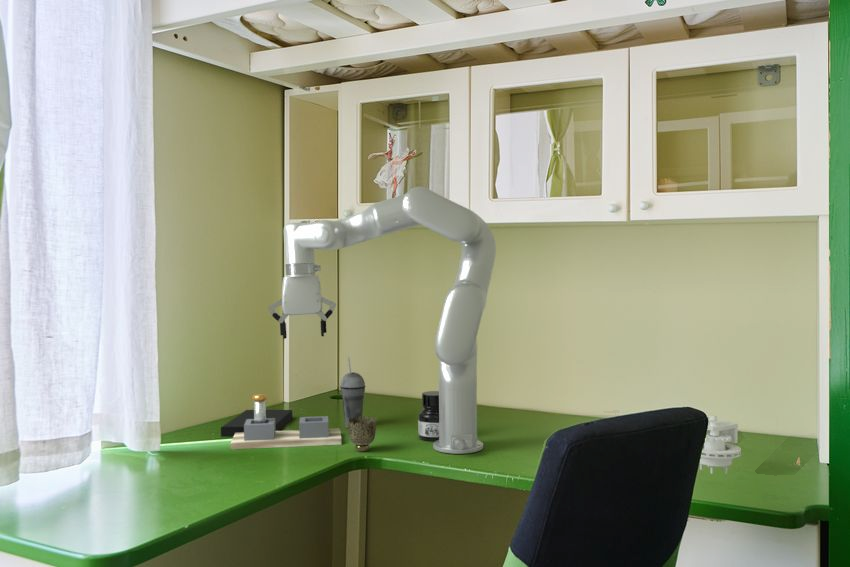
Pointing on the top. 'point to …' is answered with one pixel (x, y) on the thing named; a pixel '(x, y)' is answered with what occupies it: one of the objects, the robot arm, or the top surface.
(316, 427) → the lock mount
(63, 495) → the top surface
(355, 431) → the cup
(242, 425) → the external hard drive
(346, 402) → the beverage cup
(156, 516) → the top surface
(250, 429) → the dock socket
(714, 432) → the mechanical part
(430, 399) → the ink bottle
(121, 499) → the top surface
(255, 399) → the pin
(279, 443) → the dock board
